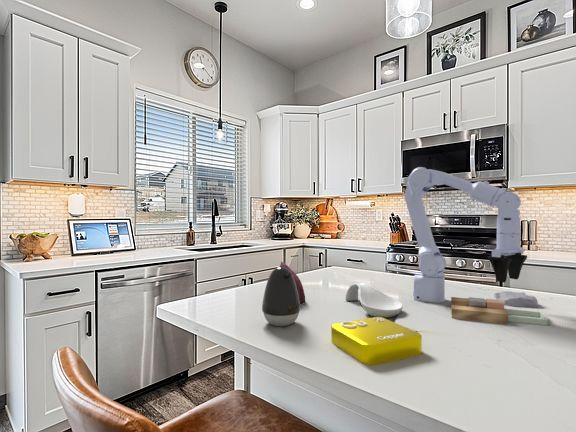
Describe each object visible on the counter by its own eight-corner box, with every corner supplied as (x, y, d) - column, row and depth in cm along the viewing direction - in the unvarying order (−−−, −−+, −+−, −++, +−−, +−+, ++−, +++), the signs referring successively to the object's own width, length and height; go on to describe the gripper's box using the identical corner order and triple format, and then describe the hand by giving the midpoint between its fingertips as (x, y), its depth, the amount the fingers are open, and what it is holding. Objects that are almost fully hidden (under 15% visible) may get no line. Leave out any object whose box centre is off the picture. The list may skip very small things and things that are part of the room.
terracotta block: (487, 316, 95) (487, 302, 95) (485, 312, 99) (485, 298, 99) (504, 318, 93) (504, 303, 93) (502, 314, 97) (502, 300, 97)
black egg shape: (272, 332, 86) (272, 271, 86) (256, 320, 96) (256, 265, 95) (307, 326, 91) (307, 268, 91) (289, 315, 100) (289, 263, 100)
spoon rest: (411, 319, 97) (411, 293, 97) (375, 324, 93) (375, 297, 93) (365, 299, 120) (365, 278, 119) (334, 302, 116) (334, 281, 116)
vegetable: (271, 314, 113) (258, 270, 112) (284, 302, 122) (271, 261, 122) (300, 309, 109) (287, 263, 108) (311, 297, 118) (298, 255, 117)
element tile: (367, 368, 67) (367, 344, 67) (328, 342, 81) (327, 321, 81) (426, 355, 73) (426, 332, 73) (380, 332, 87) (380, 313, 87)
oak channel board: (451, 321, 94) (451, 308, 94) (451, 308, 107) (451, 297, 107) (507, 327, 89) (508, 314, 89) (500, 313, 101) (500, 301, 101)
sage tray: (507, 324, 91) (507, 315, 91) (503, 316, 99) (503, 308, 99) (549, 329, 87) (549, 320, 87) (542, 320, 95) (542, 311, 95)
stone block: (506, 316, 105) (542, 311, 103) (502, 300, 106) (538, 295, 104) (491, 307, 117) (524, 302, 115) (488, 292, 117) (520, 287, 115)
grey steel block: (469, 314, 97) (469, 300, 97) (468, 311, 100) (468, 297, 100) (485, 316, 95) (485, 301, 95) (484, 312, 99) (484, 298, 99)
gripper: (511, 235, 93) (510, 285, 94) (534, 233, 101) (534, 279, 102) (484, 233, 99) (483, 281, 100) (508, 232, 107) (508, 276, 108)
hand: (507, 280), depth 101 cm, fingers open, 7 cm apart
